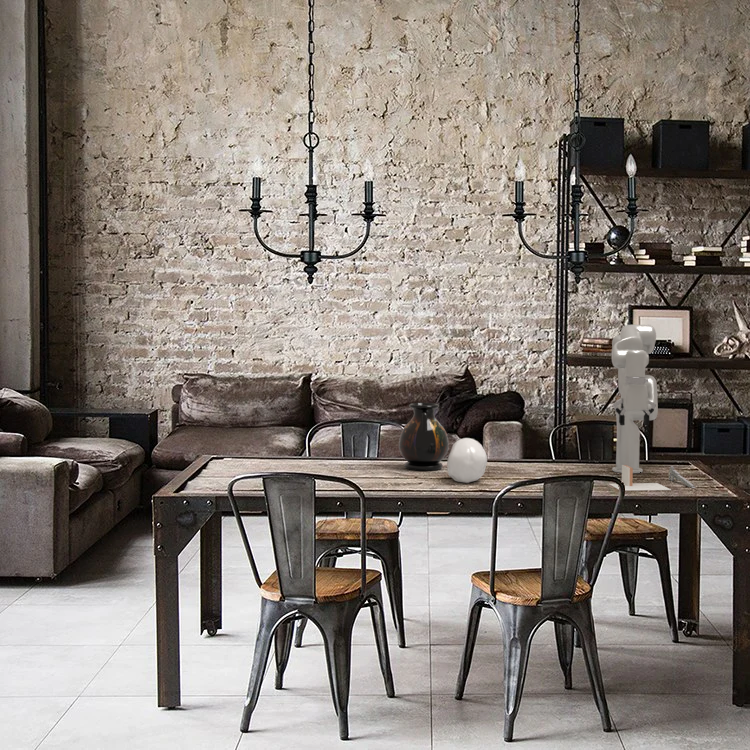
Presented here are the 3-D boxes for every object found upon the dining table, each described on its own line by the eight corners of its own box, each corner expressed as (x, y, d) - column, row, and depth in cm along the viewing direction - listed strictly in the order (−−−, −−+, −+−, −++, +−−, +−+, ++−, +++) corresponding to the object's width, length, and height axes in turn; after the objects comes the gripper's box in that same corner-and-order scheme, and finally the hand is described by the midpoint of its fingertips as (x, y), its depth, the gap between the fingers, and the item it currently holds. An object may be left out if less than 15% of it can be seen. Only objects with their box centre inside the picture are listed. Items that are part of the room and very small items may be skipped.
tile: (621, 482, 399) (621, 465, 399) (625, 482, 399) (625, 464, 399) (628, 486, 391) (628, 468, 391) (632, 486, 391) (632, 468, 391)
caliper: (668, 480, 409) (668, 465, 409) (671, 480, 409) (671, 465, 409) (693, 489, 389) (693, 473, 389) (695, 489, 389) (696, 473, 389)
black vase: (449, 472, 424) (450, 406, 422) (398, 472, 425) (399, 406, 423) (447, 464, 446) (447, 401, 444) (398, 464, 446) (398, 401, 444)
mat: (607, 485, 397) (607, 483, 396) (657, 484, 398) (657, 483, 398) (620, 492, 382) (620, 490, 382) (671, 491, 383) (671, 489, 383)
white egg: (480, 466, 420) (485, 427, 406) (485, 501, 404) (491, 462, 391) (442, 466, 420) (446, 426, 406) (446, 501, 404) (450, 462, 390)
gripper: (652, 381, 400) (651, 424, 400) (610, 381, 398) (609, 424, 398) (659, 382, 392) (659, 426, 393) (616, 381, 390) (616, 425, 391)
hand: (634, 425), depth 395 cm, fingers open, 9 cm apart
